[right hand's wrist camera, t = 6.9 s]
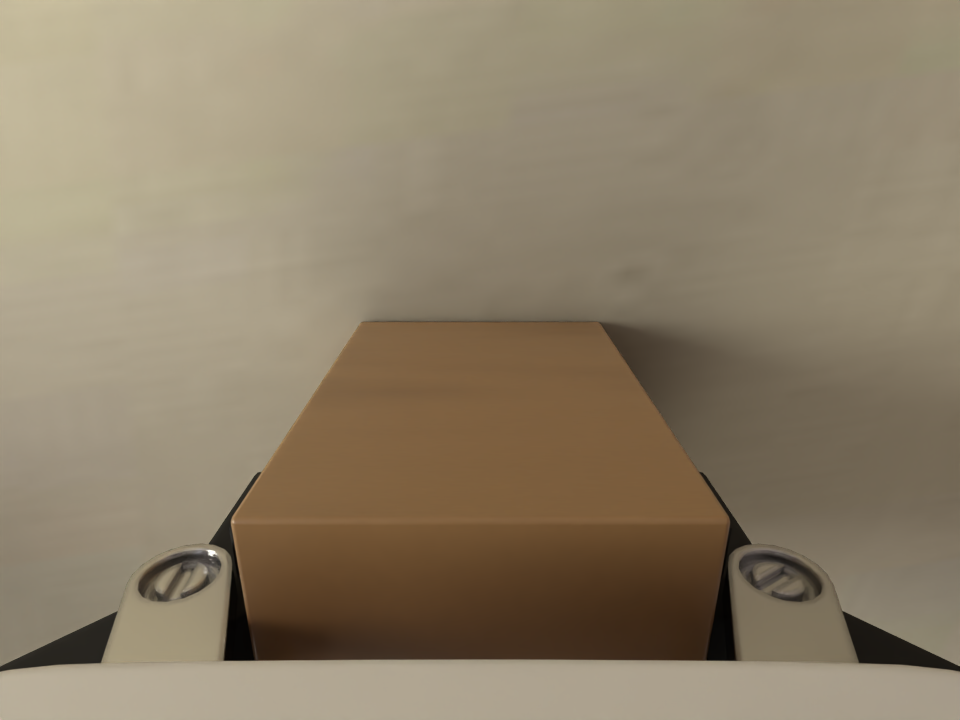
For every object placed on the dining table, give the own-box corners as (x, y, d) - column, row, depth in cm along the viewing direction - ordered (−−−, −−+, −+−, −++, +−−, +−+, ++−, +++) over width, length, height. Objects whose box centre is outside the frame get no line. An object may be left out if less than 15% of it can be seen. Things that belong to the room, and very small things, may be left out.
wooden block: (585, 525, 15) (676, 853, 8) (375, 525, 15) (285, 853, 8) (600, 321, 13) (734, 519, 6) (359, 321, 13) (226, 519, 6)
